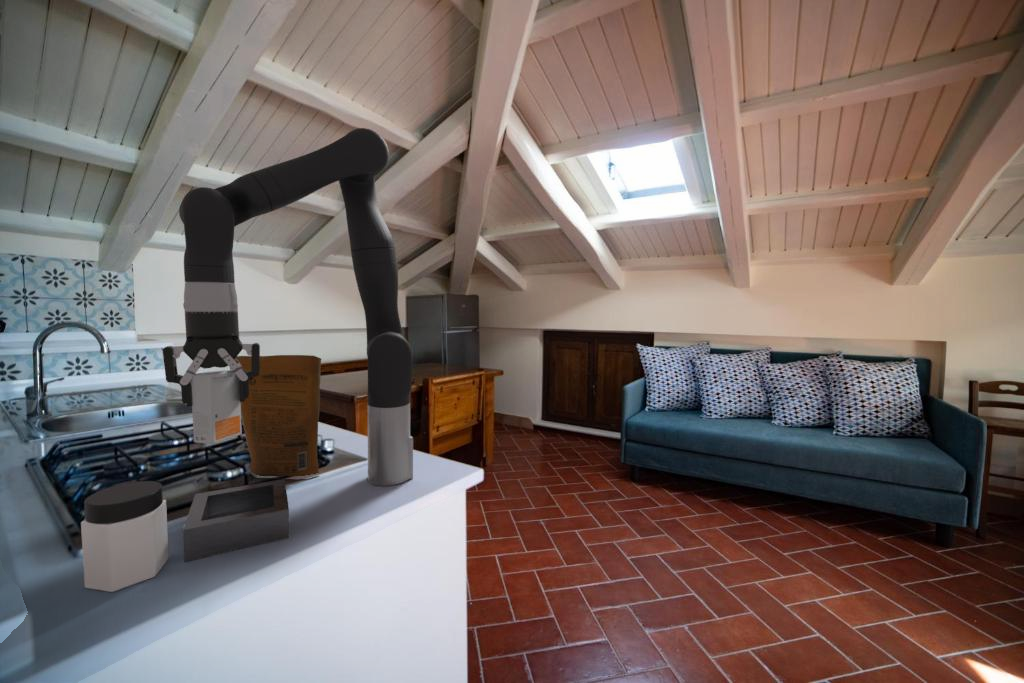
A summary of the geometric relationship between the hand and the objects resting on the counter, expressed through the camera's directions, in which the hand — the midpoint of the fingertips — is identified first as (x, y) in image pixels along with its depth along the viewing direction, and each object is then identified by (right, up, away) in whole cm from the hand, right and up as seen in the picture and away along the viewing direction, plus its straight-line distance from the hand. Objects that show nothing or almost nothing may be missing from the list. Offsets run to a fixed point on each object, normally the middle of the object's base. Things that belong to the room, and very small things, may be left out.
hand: (217, 403), depth 74 cm
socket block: (+5, -22, -1) cm, 22 cm away
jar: (-3, -23, -14) cm, 27 cm away
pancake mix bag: (0, -20, +21) cm, 29 cm away
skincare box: (0, -7, +1) cm, 7 cm away
